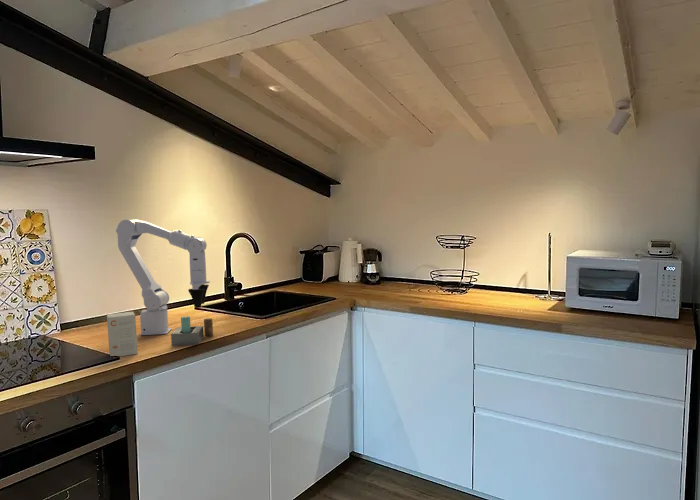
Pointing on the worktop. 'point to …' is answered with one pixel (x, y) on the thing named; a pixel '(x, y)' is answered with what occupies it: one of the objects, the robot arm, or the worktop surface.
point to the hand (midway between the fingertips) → (199, 305)
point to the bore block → (187, 336)
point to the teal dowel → (185, 324)
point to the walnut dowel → (208, 327)
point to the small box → (122, 334)
